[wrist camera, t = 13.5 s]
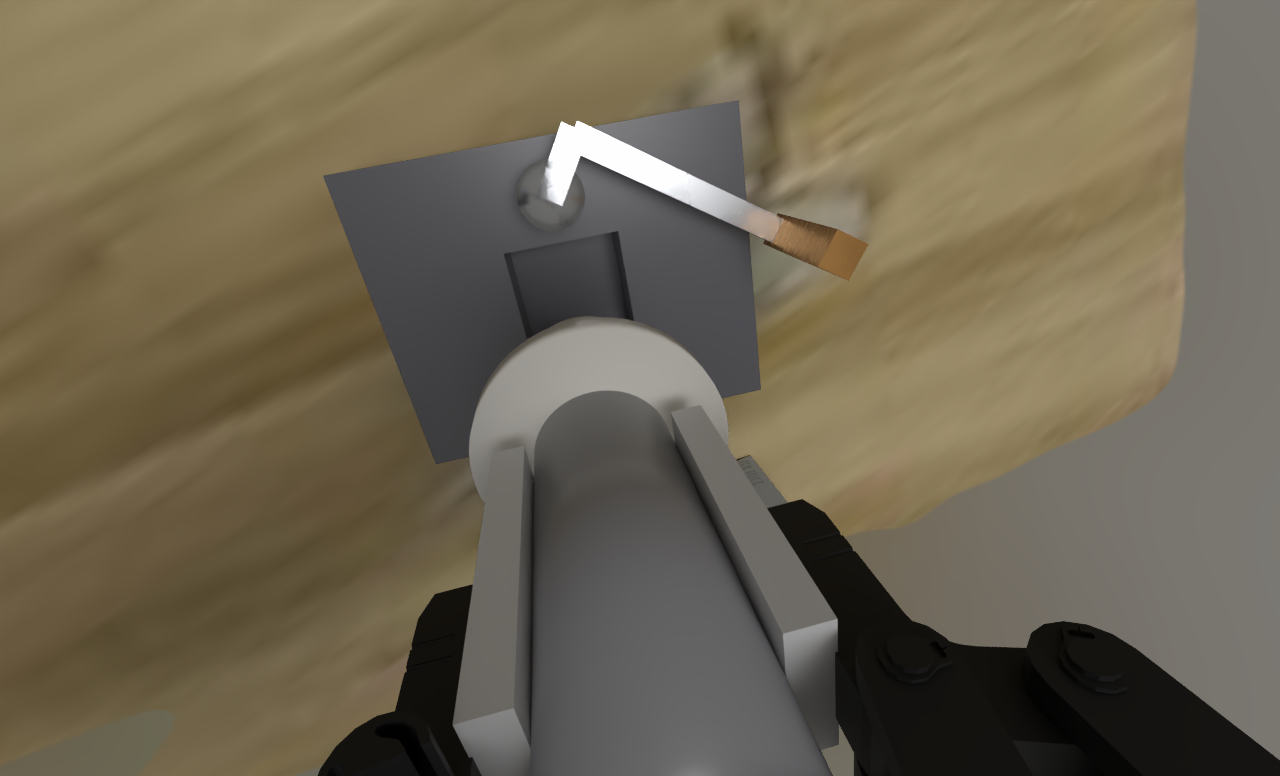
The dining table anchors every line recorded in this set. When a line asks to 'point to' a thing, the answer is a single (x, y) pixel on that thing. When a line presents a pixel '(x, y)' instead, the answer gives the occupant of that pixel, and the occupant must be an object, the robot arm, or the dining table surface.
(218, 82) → the dining table surface
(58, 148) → the dining table surface
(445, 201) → the socket block
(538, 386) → the plug
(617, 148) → the clip
